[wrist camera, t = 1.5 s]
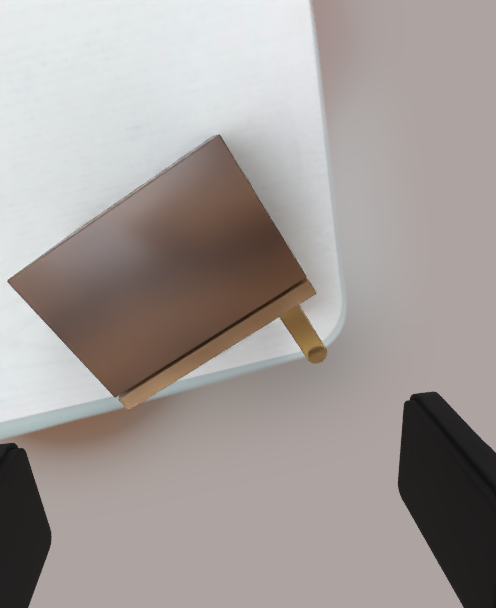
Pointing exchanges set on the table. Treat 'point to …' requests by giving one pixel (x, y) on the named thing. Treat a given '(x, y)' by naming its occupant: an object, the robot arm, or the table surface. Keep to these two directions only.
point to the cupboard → (161, 269)
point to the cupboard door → (276, 307)
